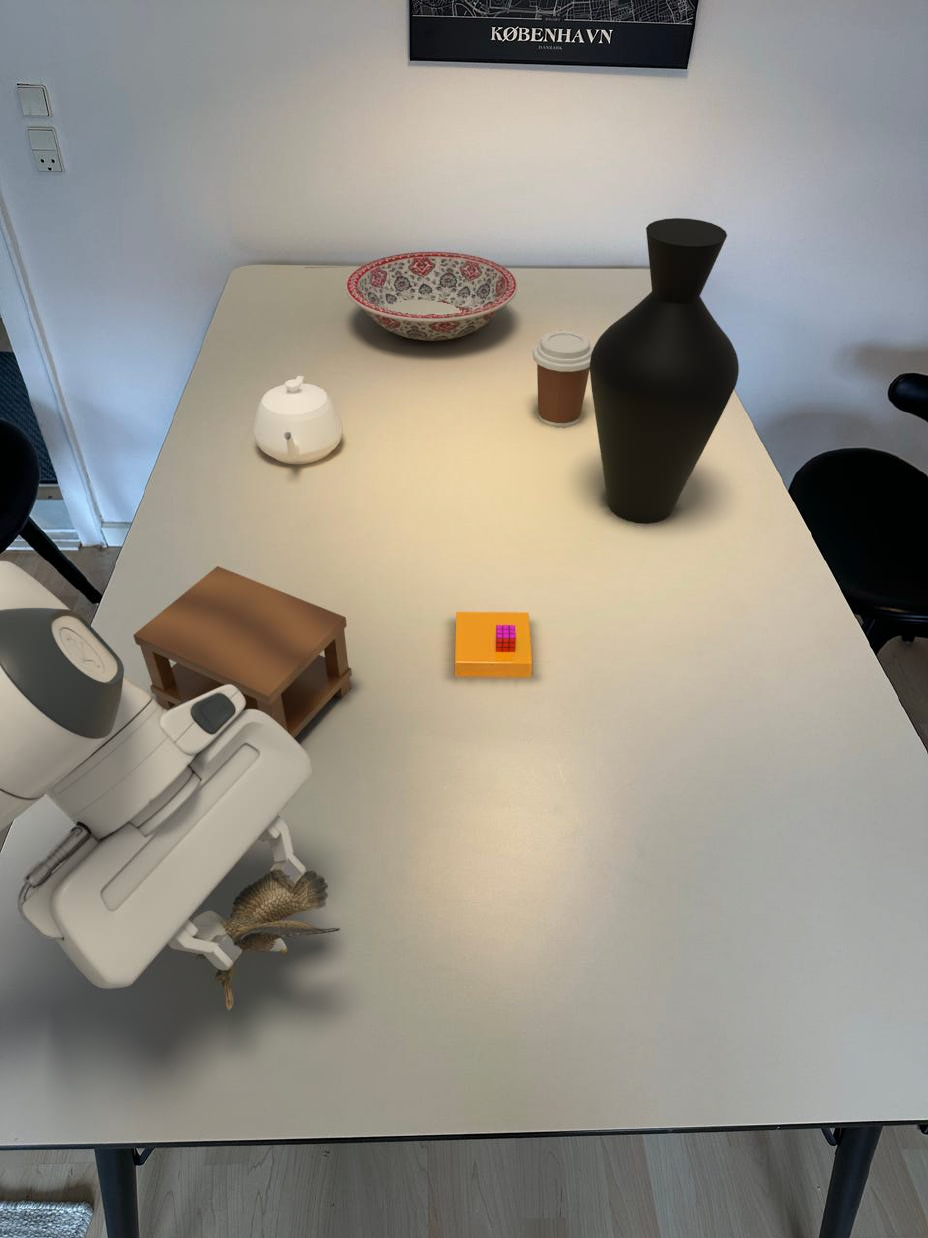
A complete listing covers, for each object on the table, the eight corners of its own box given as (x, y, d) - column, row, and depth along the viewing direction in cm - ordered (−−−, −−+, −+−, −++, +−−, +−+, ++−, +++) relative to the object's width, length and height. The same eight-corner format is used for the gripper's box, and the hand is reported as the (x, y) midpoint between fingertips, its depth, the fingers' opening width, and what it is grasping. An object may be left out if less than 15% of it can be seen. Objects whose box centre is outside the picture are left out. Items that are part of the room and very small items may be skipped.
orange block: (455, 677, 95) (455, 648, 92) (456, 626, 101) (456, 597, 98) (530, 678, 95) (533, 649, 92) (527, 627, 101) (529, 598, 98)
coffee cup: (516, 411, 137) (520, 336, 129) (564, 395, 141) (570, 321, 132) (553, 437, 131) (560, 360, 123) (601, 420, 135) (611, 344, 127)
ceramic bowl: (386, 285, 172) (384, 243, 167) (534, 306, 165) (537, 262, 160) (321, 350, 151) (316, 304, 146) (486, 377, 145) (488, 329, 139)
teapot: (340, 488, 121) (333, 420, 114) (247, 489, 121) (235, 422, 114) (347, 413, 136) (341, 350, 129) (264, 414, 135) (254, 351, 129)
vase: (733, 511, 118) (803, 236, 94) (644, 562, 110) (697, 275, 86) (635, 456, 128) (676, 194, 104) (547, 499, 119) (571, 226, 96)
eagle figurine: (263, 1022, 64) (360, 943, 64) (196, 1004, 59) (302, 918, 58) (233, 933, 69) (323, 860, 69) (169, 909, 64) (266, 830, 63)
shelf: (282, 768, 86) (268, 696, 79) (156, 706, 92) (132, 634, 85) (353, 688, 94) (346, 617, 87) (233, 636, 99) (217, 565, 93)
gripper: (15, 893, 51) (181, 1054, 54) (248, 669, 64) (370, 809, 67) (-14, 900, 55) (141, 1049, 58) (210, 690, 69) (326, 820, 72)
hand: (265, 918), depth 63 cm, fingers closed on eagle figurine, 6 cm apart
